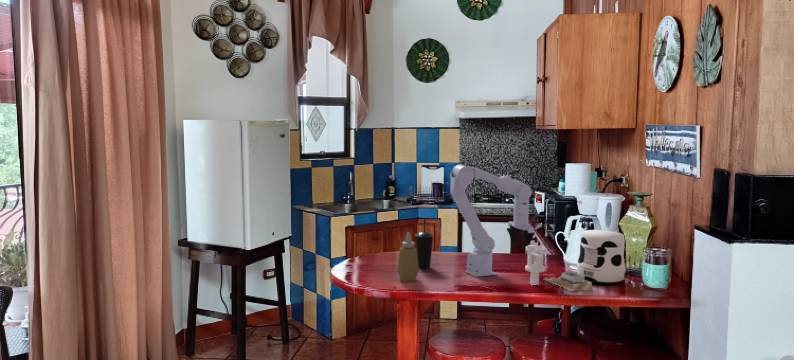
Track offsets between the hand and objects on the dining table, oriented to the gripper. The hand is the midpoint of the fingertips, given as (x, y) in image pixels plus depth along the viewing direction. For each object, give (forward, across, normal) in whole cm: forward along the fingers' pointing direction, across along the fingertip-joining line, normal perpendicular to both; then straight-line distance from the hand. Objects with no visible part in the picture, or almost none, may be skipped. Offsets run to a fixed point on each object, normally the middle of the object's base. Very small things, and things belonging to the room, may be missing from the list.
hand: (519, 247), depth 221 cm
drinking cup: (+10, +19, +33) cm, 39 cm away
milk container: (+10, -21, -22) cm, 32 cm away
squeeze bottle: (+10, +5, +46) cm, 47 cm away
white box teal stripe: (+9, -24, -6) cm, 26 cm away
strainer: (+10, -17, +5) cm, 20 cm away
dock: (+11, -20, -7) cm, 24 cm away
